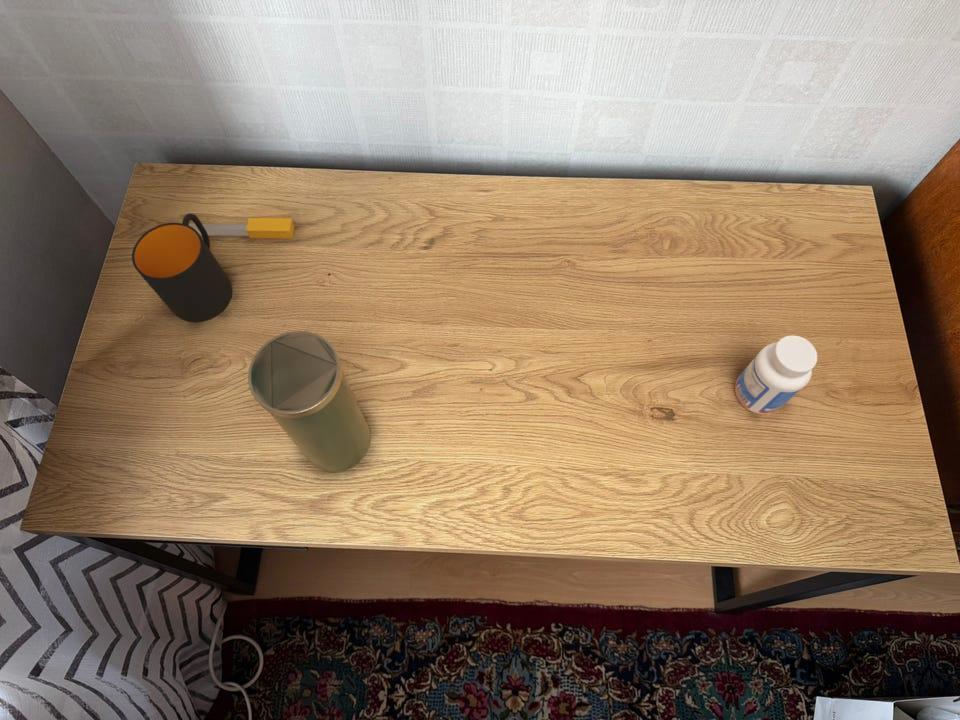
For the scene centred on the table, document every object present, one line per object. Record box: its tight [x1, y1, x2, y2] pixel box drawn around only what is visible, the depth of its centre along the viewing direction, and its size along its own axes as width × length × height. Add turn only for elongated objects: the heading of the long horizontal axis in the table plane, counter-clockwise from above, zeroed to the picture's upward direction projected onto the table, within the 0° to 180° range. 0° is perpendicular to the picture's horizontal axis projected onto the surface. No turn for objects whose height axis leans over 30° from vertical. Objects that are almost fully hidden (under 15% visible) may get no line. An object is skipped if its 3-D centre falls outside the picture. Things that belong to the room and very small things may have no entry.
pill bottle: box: [734, 335, 818, 415], centre depth 74 cm, size 6×6×11 cm
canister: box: [247, 330, 372, 473], centre depth 67 cm, size 8×8×20 cm
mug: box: [131, 212, 233, 323], centre depth 81 cm, size 8×12×10 cm
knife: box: [189, 217, 296, 240], centre depth 88 cm, size 18×2×2 cm, turn 89°
